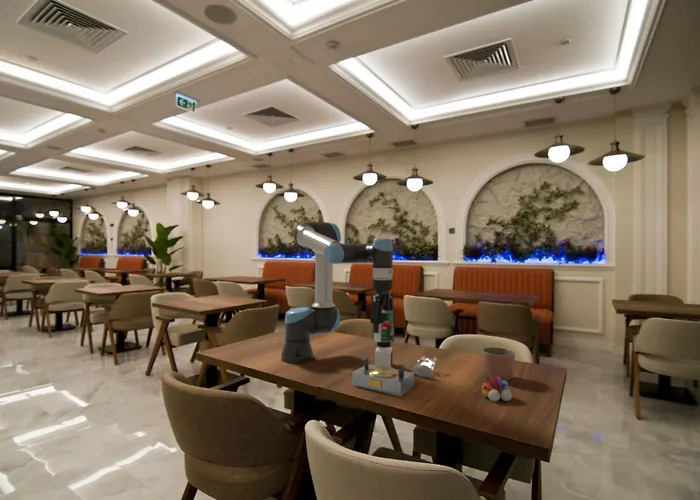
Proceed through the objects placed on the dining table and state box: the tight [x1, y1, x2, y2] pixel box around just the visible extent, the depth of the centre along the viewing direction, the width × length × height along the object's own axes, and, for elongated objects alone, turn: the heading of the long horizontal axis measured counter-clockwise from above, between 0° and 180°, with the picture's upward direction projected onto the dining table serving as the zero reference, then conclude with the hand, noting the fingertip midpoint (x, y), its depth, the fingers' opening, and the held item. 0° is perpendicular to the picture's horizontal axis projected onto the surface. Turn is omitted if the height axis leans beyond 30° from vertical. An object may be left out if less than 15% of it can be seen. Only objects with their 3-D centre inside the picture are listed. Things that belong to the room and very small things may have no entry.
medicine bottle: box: [374, 341, 394, 368], centre depth 165 cm, size 7×7×12 cm
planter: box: [481, 346, 516, 382], centre depth 150 cm, size 12×12×11 cm
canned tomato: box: [371, 308, 394, 342], centre depth 141 cm, size 8×8×11 cm
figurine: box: [411, 355, 438, 378], centre depth 155 cm, size 9×6×12 cm
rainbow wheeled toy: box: [481, 377, 513, 402], centre depth 130 cm, size 8×10×7 cm
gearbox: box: [351, 357, 415, 397], centre depth 141 cm, size 20×13×9 cm, turn 58°
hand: (382, 339), depth 141 cm, fingers closed on canned tomato, 8 cm apart
